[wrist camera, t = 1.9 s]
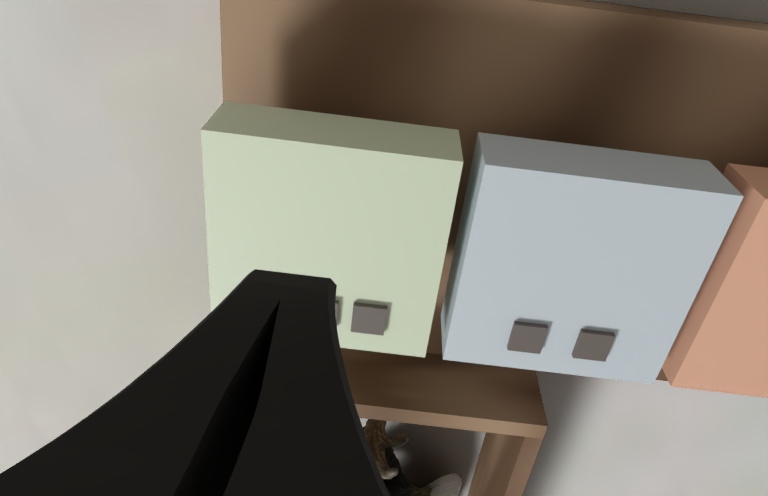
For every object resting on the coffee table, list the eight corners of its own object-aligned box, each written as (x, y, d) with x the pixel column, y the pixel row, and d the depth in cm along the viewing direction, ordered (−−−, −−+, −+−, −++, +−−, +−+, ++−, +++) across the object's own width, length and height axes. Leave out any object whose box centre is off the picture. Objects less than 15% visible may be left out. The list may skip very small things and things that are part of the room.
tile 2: (708, 160, 16) (747, 199, 14) (632, 337, 19) (655, 388, 17) (478, 132, 16) (485, 167, 14) (440, 315, 19) (442, 363, 17)
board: (964, 48, 16) (1104, 95, 13) (642, 575, 30) (670, 664, 27) (230, -45, 16) (181, -22, 13) (244, 531, 30) (221, 615, 27)
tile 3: (458, 129, 16) (463, 165, 14) (424, 313, 19) (424, 361, 17) (224, 100, 15) (198, 132, 14) (230, 290, 19) (210, 336, 17)
